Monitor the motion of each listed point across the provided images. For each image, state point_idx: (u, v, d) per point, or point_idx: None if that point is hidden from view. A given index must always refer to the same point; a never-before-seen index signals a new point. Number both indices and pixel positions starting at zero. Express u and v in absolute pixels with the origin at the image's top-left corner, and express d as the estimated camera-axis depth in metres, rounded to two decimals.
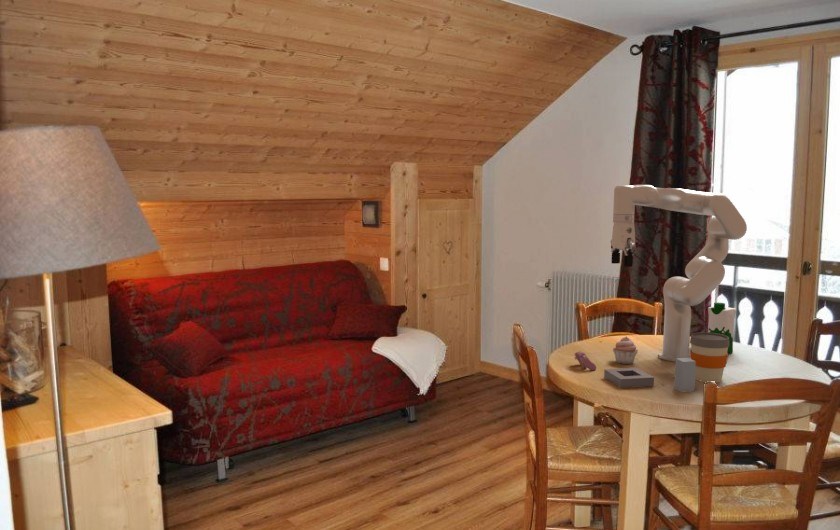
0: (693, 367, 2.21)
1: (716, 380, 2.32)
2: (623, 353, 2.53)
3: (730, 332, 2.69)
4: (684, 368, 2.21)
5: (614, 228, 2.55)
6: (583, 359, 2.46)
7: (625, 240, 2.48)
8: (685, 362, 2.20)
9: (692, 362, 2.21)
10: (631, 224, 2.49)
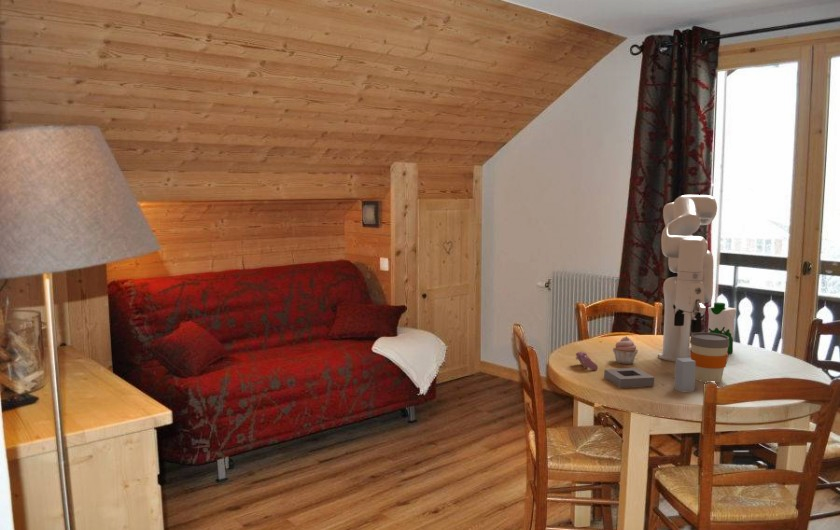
0: (693, 367, 2.21)
1: (716, 380, 2.32)
2: (623, 353, 2.53)
3: (730, 332, 2.69)
4: (684, 368, 2.21)
5: (678, 286, 2.22)
6: (584, 359, 2.46)
7: (693, 302, 2.15)
8: (685, 362, 2.20)
9: (692, 362, 2.21)
10: (700, 283, 2.15)
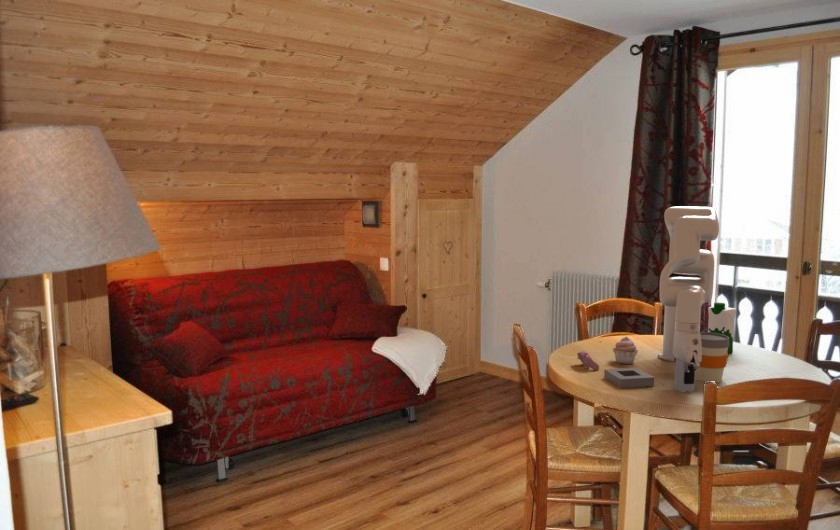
0: None
1: (716, 380, 2.32)
2: (623, 353, 2.53)
3: (730, 332, 2.69)
4: (684, 368, 2.21)
5: (676, 336, 2.23)
6: (586, 359, 2.46)
7: (690, 353, 2.17)
8: None
9: None
10: (697, 334, 2.17)
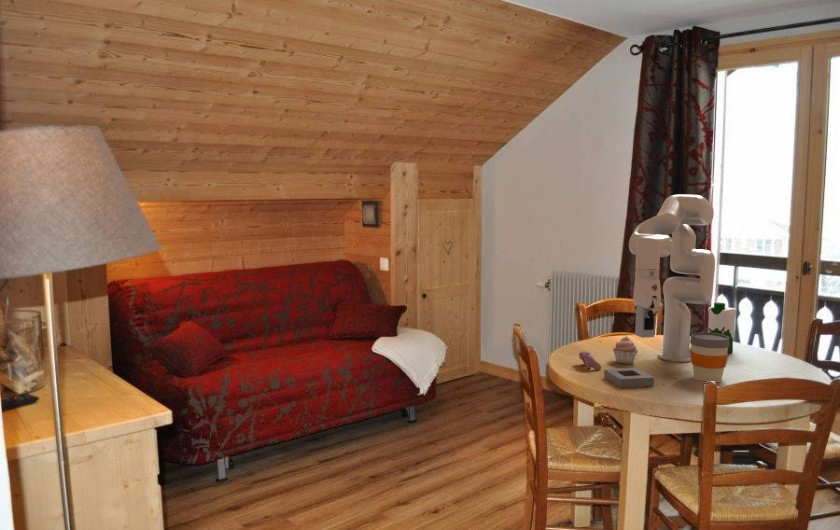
0: None
1: (716, 380, 2.32)
2: (623, 353, 2.53)
3: (730, 332, 2.69)
4: (644, 314, 2.25)
5: (636, 283, 2.27)
6: (588, 359, 2.46)
7: (650, 298, 2.21)
8: None
9: None
10: (656, 280, 2.22)
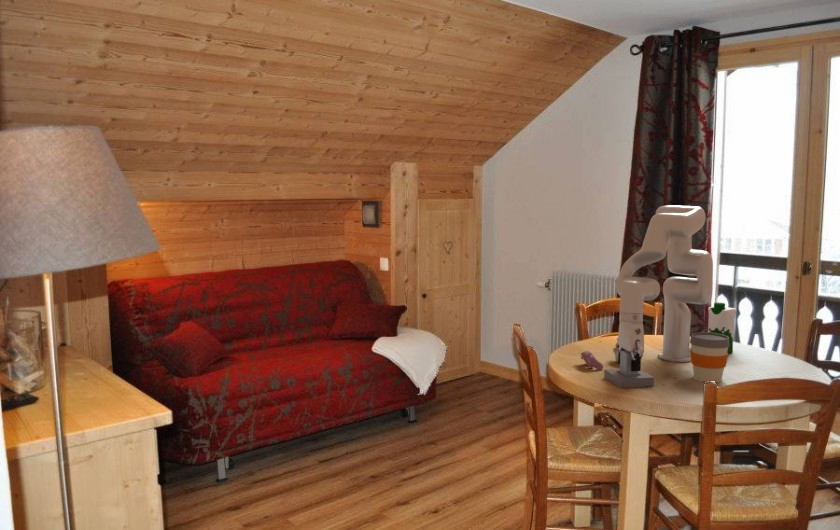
0: None
1: (716, 380, 2.32)
2: None
3: (730, 332, 2.69)
4: (628, 360, 2.29)
5: (621, 326, 2.32)
6: (590, 359, 2.46)
7: (633, 342, 2.25)
8: (628, 354, 2.29)
9: (635, 354, 2.29)
10: (640, 324, 2.25)
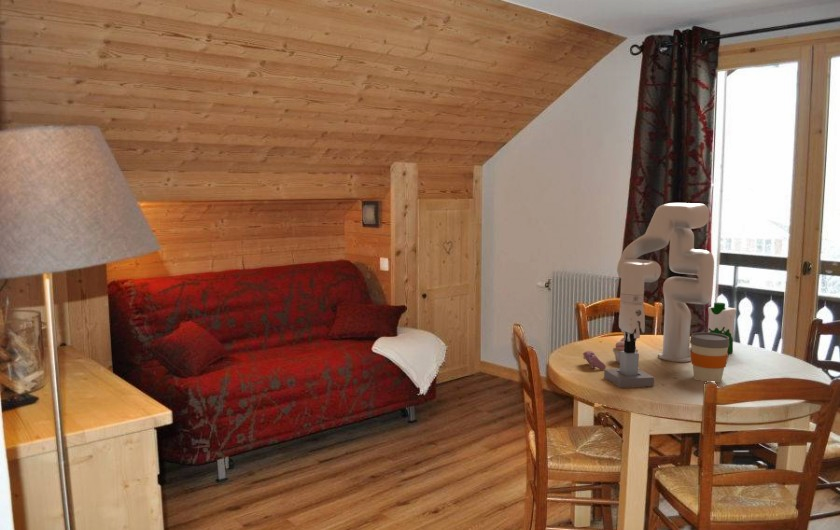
0: (636, 359, 2.29)
1: (716, 380, 2.32)
2: None
3: (730, 332, 2.69)
4: (628, 360, 2.29)
5: (621, 308, 2.31)
6: (592, 359, 2.46)
7: (634, 324, 2.24)
8: (628, 354, 2.29)
9: (635, 354, 2.29)
10: (640, 306, 2.25)
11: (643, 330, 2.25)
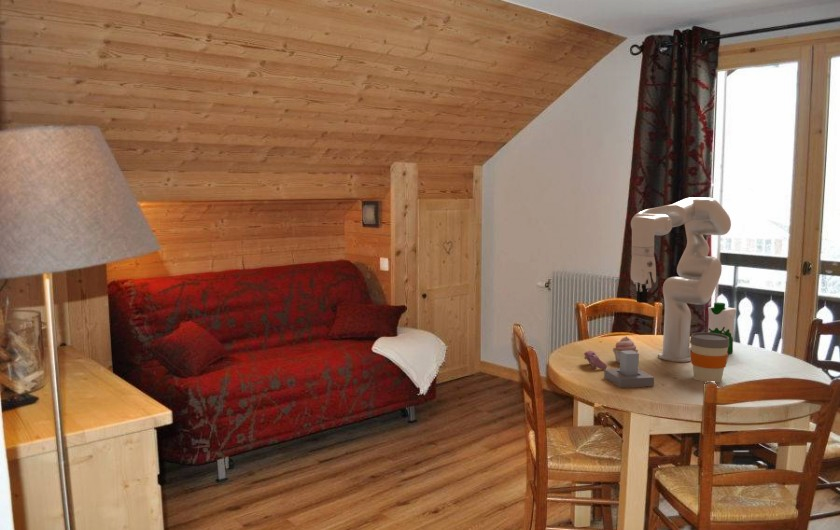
0: (636, 359, 2.29)
1: (716, 380, 2.32)
2: None
3: (730, 332, 2.69)
4: (628, 360, 2.29)
5: (633, 261, 2.43)
6: (593, 359, 2.46)
7: (646, 274, 2.37)
8: (628, 354, 2.29)
9: (635, 354, 2.29)
10: (651, 257, 2.37)
11: (654, 280, 2.38)
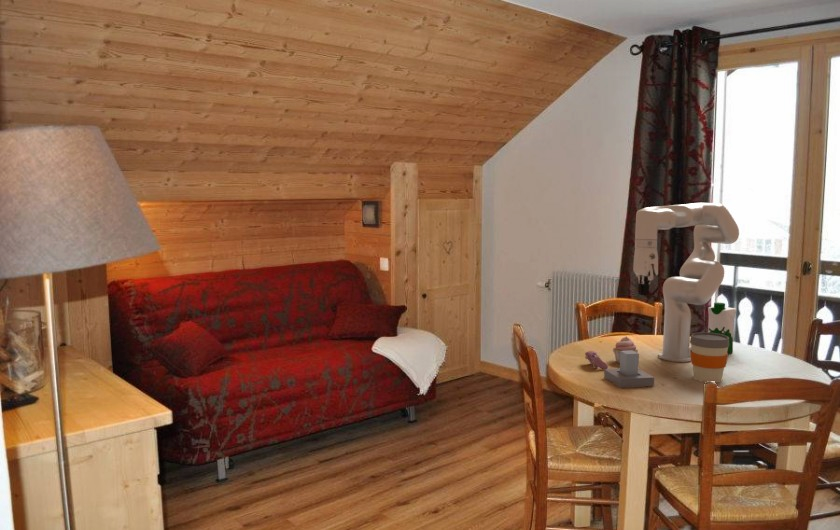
0: (636, 359, 2.29)
1: (716, 380, 2.32)
2: None
3: (730, 332, 2.69)
4: (628, 360, 2.29)
5: (636, 253, 2.47)
6: (594, 359, 2.46)
7: (648, 266, 2.40)
8: (628, 354, 2.29)
9: (635, 354, 2.29)
10: (654, 250, 2.41)
11: (656, 272, 2.41)
